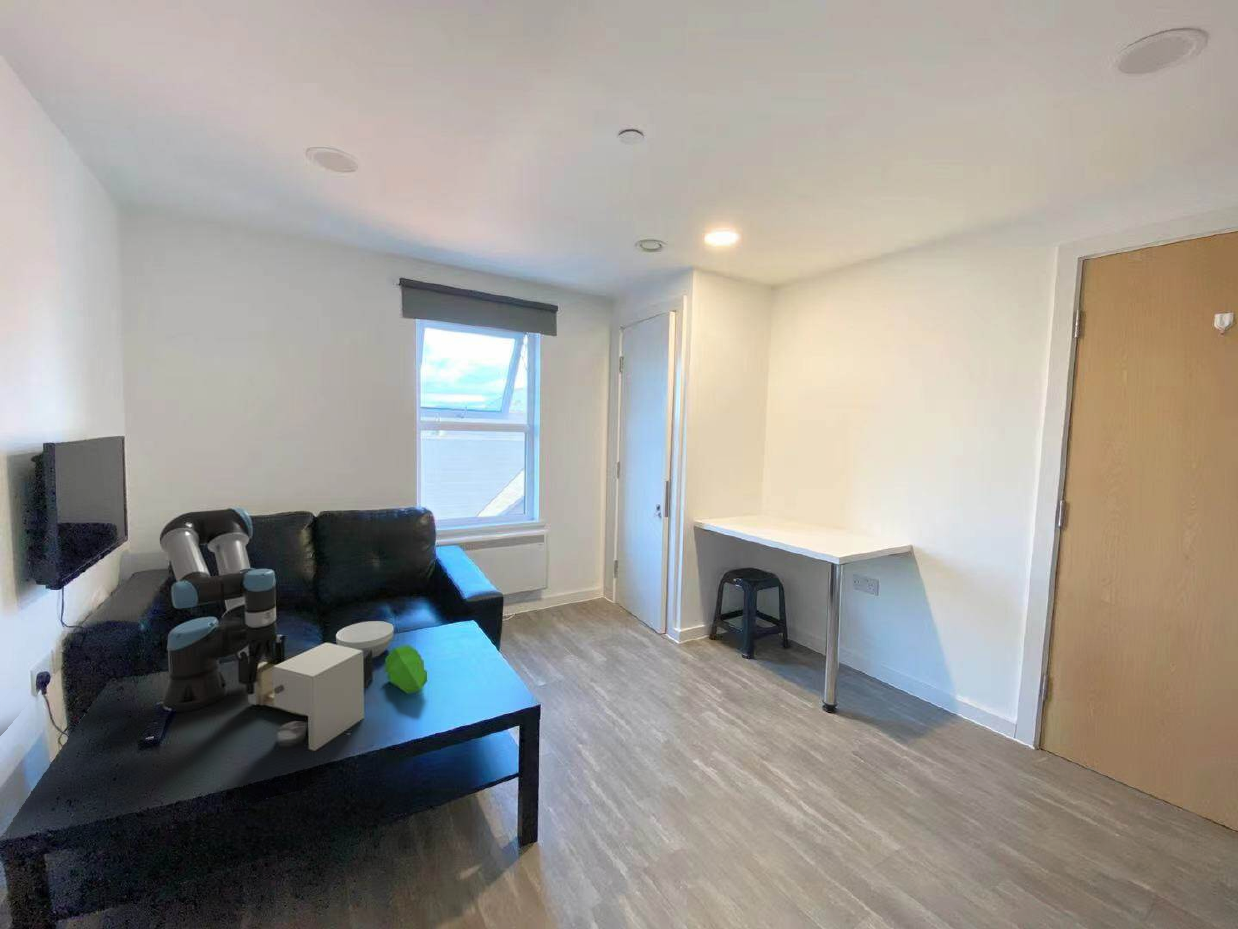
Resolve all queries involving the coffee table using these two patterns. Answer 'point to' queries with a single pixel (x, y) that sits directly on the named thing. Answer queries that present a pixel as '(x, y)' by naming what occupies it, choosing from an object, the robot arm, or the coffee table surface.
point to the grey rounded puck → (291, 733)
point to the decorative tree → (406, 669)
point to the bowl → (366, 636)
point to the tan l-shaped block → (266, 685)
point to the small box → (367, 667)
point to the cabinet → (322, 689)
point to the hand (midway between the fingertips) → (263, 698)
